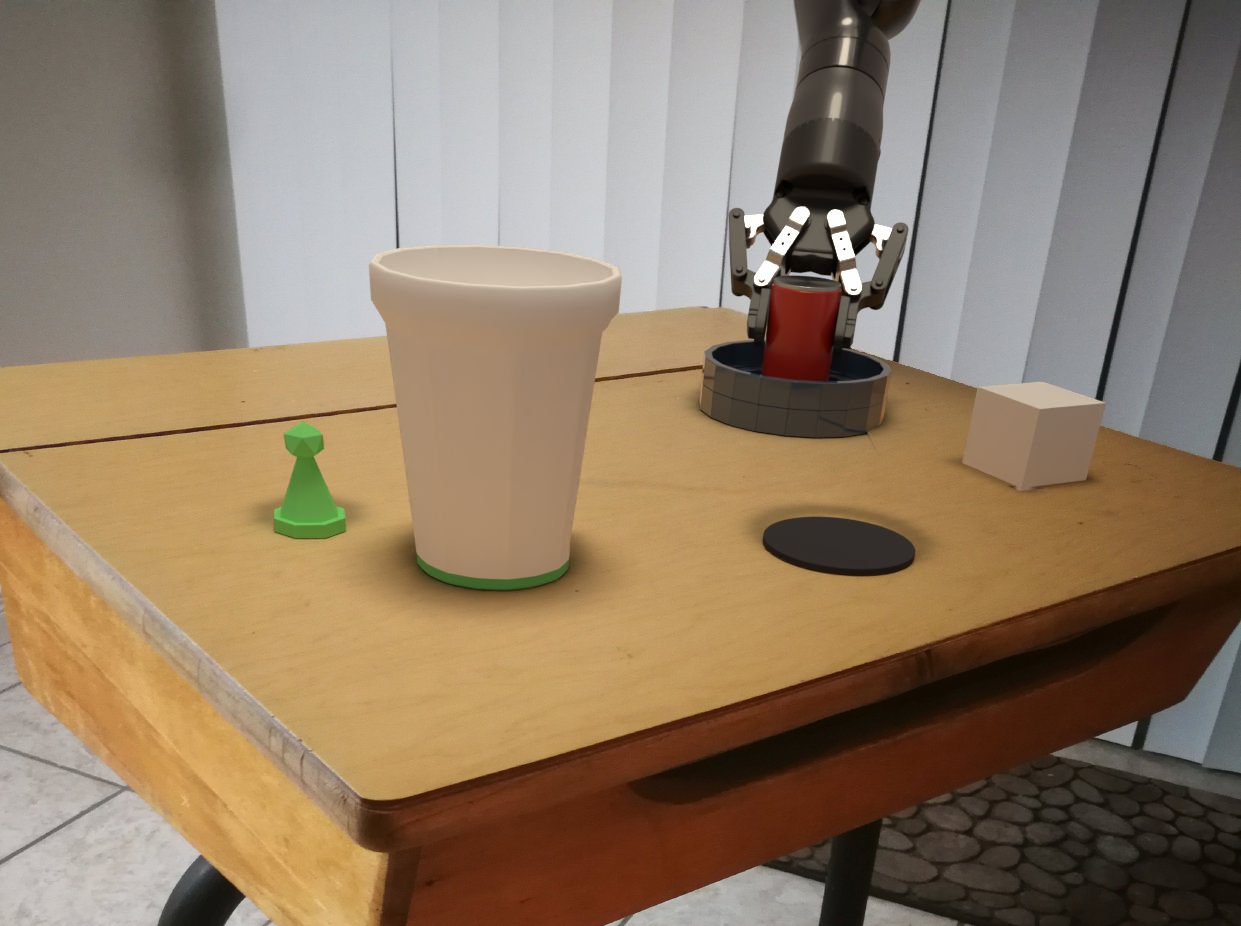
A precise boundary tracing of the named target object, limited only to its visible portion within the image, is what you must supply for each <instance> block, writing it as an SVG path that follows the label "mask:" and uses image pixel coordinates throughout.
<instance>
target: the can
mask: <svg viewBox="0 0 1241 926" xmlns="http://www.w3.org/2000/svg"><path fill="white" fill-rule="evenodd" d="M841 294H842V289H841V283H839V282H837V281H834V280H833V279H829V278H825V277H820V276H810V275H798V274H797V275H794V274H792V275H790V274H789V276H779V277H775V278H774V282H773V283H772V288H771V296H770V305H769V313H768V322H767V327H766V333H765V339H764V340H765V347H764V355H763V364H762V372H761V375H763V376H770V377H777V378H784V379H792V380H806V381H829V376H830V369H831V362H832V353H833V345H834V337H835V331H836V325H837V318H838V312H839V306H840V300H841Z"/></svg>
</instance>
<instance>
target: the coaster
mask: <svg viewBox="0 0 1241 926" xmlns="http://www.w3.org/2000/svg"><path fill="white" fill-rule="evenodd" d="M762 543H763V546H764V548H765V549H766V550H767V551H768V552H769V553H770V554H772V555H773V556H775V557H776V558H778V559H780V560H782V561H783V562H787V563H789V564H791V565H795V566H797V567H801V568H804V569H808V570H811V571H816V572H822V573H827V574H834V575H835V574H836V575H845V576H877V575H883V574H884V575H885V574H890V573H895V572H898V571H901V570H903V569H906V568H907V567H909V566H910V565H912V563H913V562H914V559H915V556H916V547H915V545H914V543H912V542H911V541H910V539H908V538H907V537H906V536H904V535H902V534H900V533H899V532H897V531H895V530H892V529H890V528H887V527H884V526H881V525H878V524H876V523H871V522H867V521H862V520H858V519H851V518H846V517H845V518H844V517H835V516H800V517H791V518H786V519H782V520H779V521H776V522H774V523H772V524H770V525H769V526H767V527H766V528H765V530H764V531H763V534H762Z"/></svg>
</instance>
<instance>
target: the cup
mask: <svg viewBox="0 0 1241 926" xmlns="http://www.w3.org/2000/svg"><path fill="white" fill-rule="evenodd" d="M368 273H369V274H368V275H369V288H370V289H369V291H370V301H371V302H372V304H373V305H374V307H375V309H376V310H377V312H378V314H379V315H380V317H381V319H382V320H383V322H384V324H385V325H384V326H385V332H386V338H387V346H388V353H389V362H390V368H391V369H390V370H391V374H392V375H391V376H392V383H393V390H394V391H393V392H394V398H395V405H396V413H397V419H398V427H399V435H400V441H401V449H402V455H403V463H404V470H405V479H406V484H407V485H406V487H407V492H408V499H409V500H408V501H409V507H410V514H411V515H410V516H411V523H412V528H413V537H414V544H415V551H416V562H417V564H418V566H419V567H420V569H422V570H423V572H425V573H426V574H427V575H429V576H430V577H432V578H435V579H436V580H439V581H441V582H444V583H446V584H448V585H453V586H457V587H462V588H469V589H475V590H487V591H488V590H489V591H512V590H513V591H514V590H523V589H529V588H536V587H538V586H543V585H546V584H549V583H551V582H555V581H557V580H558V579H559V578H560V577H562V576H563V575H564V574H565V573H566V572H567V571H568V570H569V566H570V552H571V550H570V549H571V548H570V546H571V538H572V533H573V525H574V519H575V514H576V513H575V512H576V505H577V500H578V493H579V486H580V481H581V480H580V479H581V473H582V467H583V460H584V454H585V447H586V440H587V435H588V429H589V428H588V427H589V422H590V415H591V409H592V401H593V395H594V388H595V383H596V376H597V369H598V363H599V357H600V350H601V344H602V336H603V333H604V332H605V330H607V329H608V328H609V326H610V323H611V322H612V320H613V319H614V318H615V317H616V316H617V315H618V314H619V313H620V305H621V304H620V302H621V293H622V281H623V277H622V274H621V270H620V268H619V267H618V266H616V265H613V264H611V263H610V262H609V263H608V262H606V261H603V260H601V259H598V258H595V257H589V256H584V255H580V254H576V253H571V252H567V251H558V250H549V249H540V248H533V247H525V246H508V245H491V244H432V245H419V246H410V247H409V246H408V247H398V248H394V249H390V250H386V251H382V252H379V253H375V255H374V256H373V257H372V259H371V260H370V262H369V263H368Z"/></svg>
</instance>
